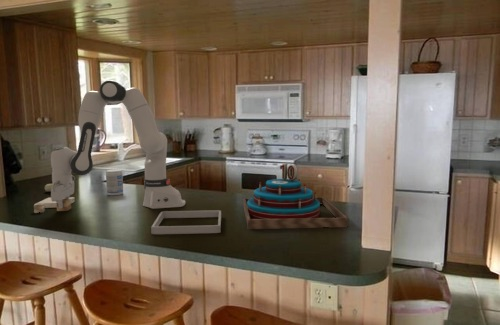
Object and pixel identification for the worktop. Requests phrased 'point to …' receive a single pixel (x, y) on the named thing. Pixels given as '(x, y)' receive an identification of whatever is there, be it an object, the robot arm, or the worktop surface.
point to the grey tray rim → (186, 229)
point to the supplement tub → (114, 182)
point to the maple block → (39, 207)
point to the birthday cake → (283, 198)
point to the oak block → (66, 205)
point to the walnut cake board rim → (298, 219)
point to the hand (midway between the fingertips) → (63, 206)
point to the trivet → (53, 202)
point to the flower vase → (48, 187)
